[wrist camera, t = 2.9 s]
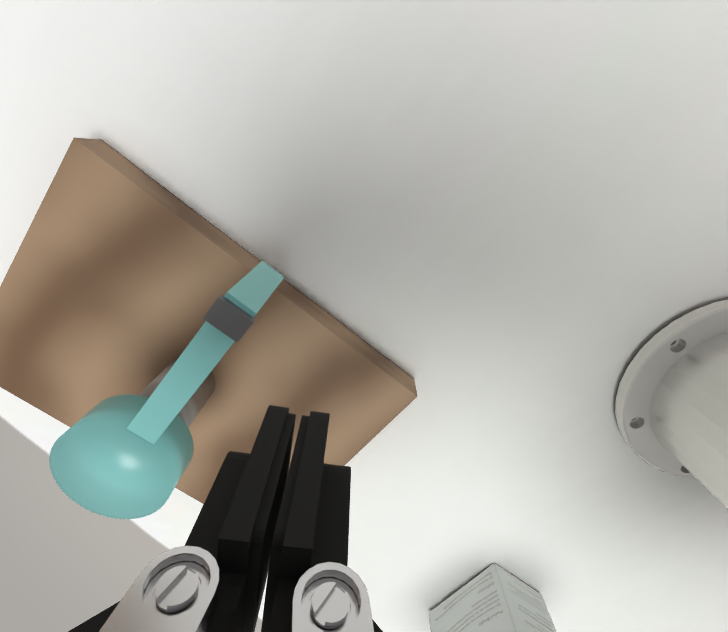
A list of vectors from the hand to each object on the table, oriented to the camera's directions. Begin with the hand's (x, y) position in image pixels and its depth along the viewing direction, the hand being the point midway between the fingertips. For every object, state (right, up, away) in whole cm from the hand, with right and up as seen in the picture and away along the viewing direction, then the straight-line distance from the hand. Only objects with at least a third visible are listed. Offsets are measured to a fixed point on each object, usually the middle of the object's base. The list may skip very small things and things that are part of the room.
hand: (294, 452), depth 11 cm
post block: (-8, +1, +14) cm, 17 cm away
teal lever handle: (-6, +1, +9) cm, 11 cm away
